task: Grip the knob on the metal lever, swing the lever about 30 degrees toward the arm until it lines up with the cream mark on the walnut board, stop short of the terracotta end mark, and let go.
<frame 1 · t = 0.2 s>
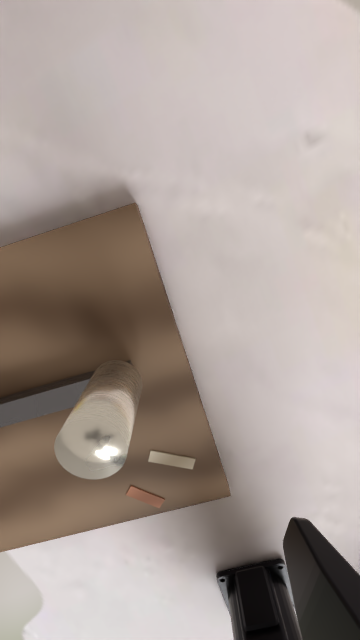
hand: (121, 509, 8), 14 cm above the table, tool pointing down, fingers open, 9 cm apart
board: (57, 402, 22), on the table
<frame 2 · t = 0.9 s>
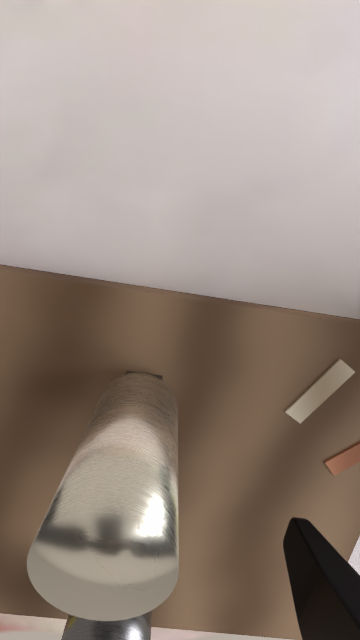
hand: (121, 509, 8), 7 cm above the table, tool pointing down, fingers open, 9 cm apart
board: (159, 475, 16), on the table
lever: (111, 591, 12), point 5 cm above the table, hinge at 0.0°
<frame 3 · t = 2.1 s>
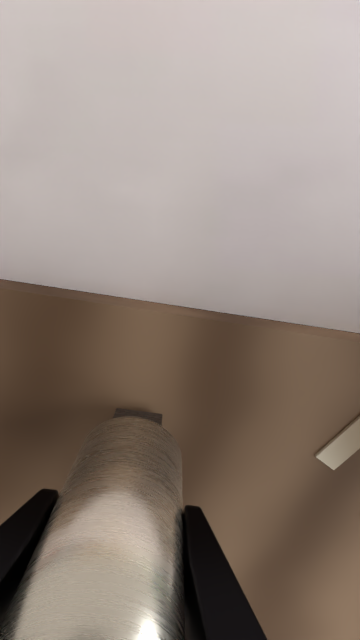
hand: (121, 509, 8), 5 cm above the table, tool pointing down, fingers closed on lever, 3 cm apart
board: (158, 523, 14), on the table
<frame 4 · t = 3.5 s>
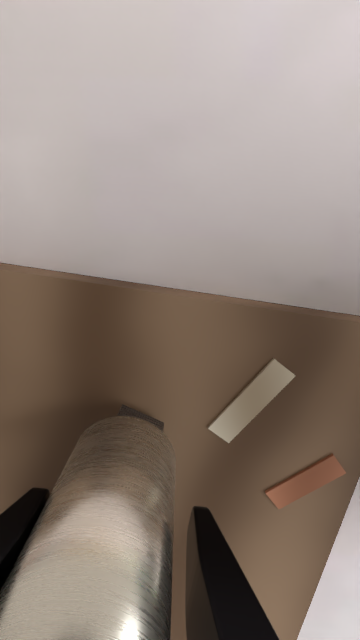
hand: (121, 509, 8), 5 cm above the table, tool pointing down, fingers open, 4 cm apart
board: (68, 503, 13), on the table
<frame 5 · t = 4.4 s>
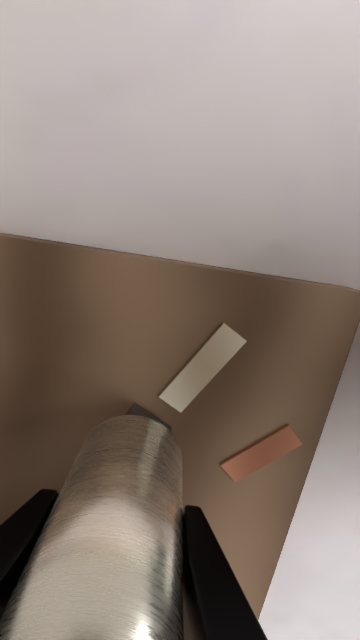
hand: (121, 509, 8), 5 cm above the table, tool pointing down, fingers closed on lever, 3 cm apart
board: (24, 479, 13), on the table
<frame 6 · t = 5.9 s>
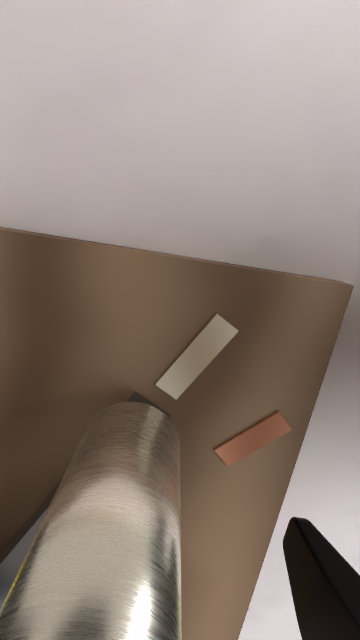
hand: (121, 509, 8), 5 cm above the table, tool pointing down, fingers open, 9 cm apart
board: (26, 466, 13), on the table
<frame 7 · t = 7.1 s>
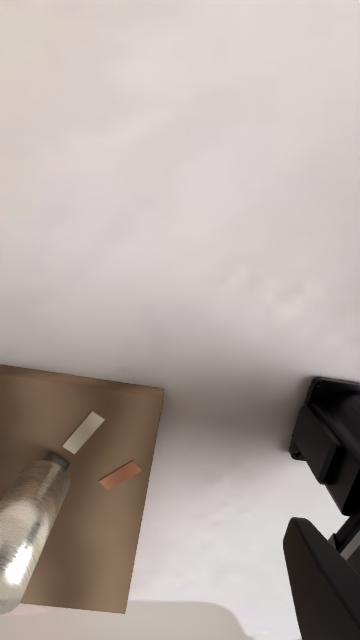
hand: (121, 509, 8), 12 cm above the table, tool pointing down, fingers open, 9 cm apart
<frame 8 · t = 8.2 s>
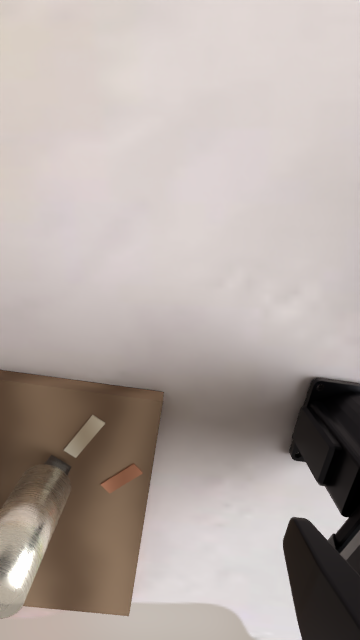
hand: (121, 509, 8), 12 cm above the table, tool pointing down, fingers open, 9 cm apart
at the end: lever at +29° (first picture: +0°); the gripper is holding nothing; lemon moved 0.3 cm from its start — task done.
